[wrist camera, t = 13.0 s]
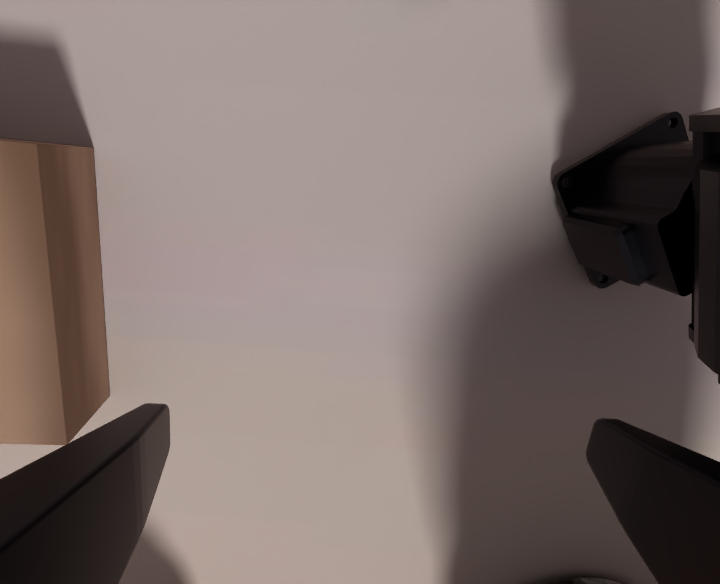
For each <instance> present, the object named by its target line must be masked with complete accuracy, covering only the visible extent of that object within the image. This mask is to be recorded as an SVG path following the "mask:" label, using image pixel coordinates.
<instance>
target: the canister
mask: <svg viewBox="0 0 720 584" xmlns="http://www.w3.org/2000/svg"><path fill="white" fill-rule="evenodd" d="M572 581H573V583H574V584H621V583H619V582H616V581H612V580H607V579H601V578H576V579H573V580H572Z"/></svg>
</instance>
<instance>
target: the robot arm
mask: <svg viewBox="0 0 720 584" xmlns="http://www.w3.org/2000/svg"><path fill="white" fill-rule="evenodd" d="M669 120H671V125H670V127H668V121H669ZM689 131H693V141H689V140H688V136H687V132H686V129H685V125H684V122H683V118H682V116H681V114H679V113H678V112H669V113H665V114H662V115H661V116H659V117H657V118H655V119H654V120H652V121H650V122H648V123H646V124H645V125H643V126H641V127H639V128H638V129H636V130H634V131H632V132H631V133H629V134H627V135H625V136H623V137H622V138H620V139H618V140H616V141H615V142H613V143H611V144H609V145H608V146H606V147H604V148H602V149H601V150H599V151H597V152H595V153H593V154H592V155H590V156H588V157H586V158H585V159H583V160H581V161H579V162H578V163H576V164H574V165H572V166H571V167H569V168H567V169H565V170H563V171H562V172H560V173H558V174H557V175H556V176H555V178H554V180H553V188H554V190H555V193H556V196H557V198H558V201H559V203H560V206H561V208H562V211H563V213H564V216H565V217H564V221H563V225H564V227H565V230H566V232H567V235H568V237H569V240H570V242H571V245H572V248H573V250H574V253H575V255H576V258H577V260H578V263H579V264H581V265H583V266H584V267H585V270H586V272H587V275H588V277H589V280H590V282H591V284H592V285H594V286H596V287H598V288H606V287H608V286H610V285H612V284H613V283H615V282H617V281H619V280H622V281H624V282H627V283H630V284H633V285H636V286H639V285H641V284H643V283H648V284H650V285H653V286H656V287H658V288H661V289H664V290H667V291H669V292H672V293H675V294H678V295H680V296H687V295H689V294H691V293H692V323H691V324H689V325H688V337H689V339H690V340H691V341H692V342H693V343H694V345H695V349H696V352H697V356H698V358H699V359H700V360H701V361H702V362H704V363H705V364H706V365H707V366H708V367H709V368H710V369H711V370H712V371H713V372H715V373H716V374H718V383H719V384H720V108H716V109H712V110H708V111H704V112H700V113H696V114H692V115H689ZM565 178H567V180H568V183H567V185H566V186H565V187H563V186H562V181H563V180H564V179H565ZM601 275H603V279H602V280H601V281H599V278H600V276H601ZM169 448H170V414H169V408H168V406H167V405H166V404H152V403H147V404H143V405H141V406H140V407H138V408H136V409H134V410H132V411H130V412H128V413H126V414H124V415H122V416H120V417H118V418H117V419H115V420H113V421H111V422H109V423H107V424H105V425H103V426H101V427H99V428H97V429H95V430H94V431H92V432H90V433H88V434H86V435H84V436H82V437H80V438H78V439H76V440H74V441H72V442H71V443H69V444H67V445H65V446H63V447H61V448H59V449H57V450H55V451H53V452H51V453H49V454H47V455H46V456H44V457H42V458H40V459H38V460H36V461H34V462H32V463H30V464H28V465H26V466H24V467H23V468H21V469H19V470H17V471H15V472H13V473H11V474H9V475H7V476H5V477H3V478H1V479H0V584H119V581H120V579H121V577H122V575H123V573H124V570H125V568H126V566H127V564H128V562H129V560H130V557H131V555H132V553H133V551H134V549H135V546H136V544H137V542H138V540H139V537H140V535H141V533H142V530H143V528H144V525H145V522H146V520H147V517H148V514H149V511H150V508H151V505H152V502H153V499H154V496H155V492H156V489H157V486H158V483H159V480H160V477H161V474H162V471H163V468H164V465H165V462H166V459H167V456H168V453H169ZM586 458H587V461H588V463H589V465H590V467H591V469H592V471H593V473H594V475H595V477H596V479H597V481H598V482H599V484H600V486H601V488H602V490H603V492H604V494H605V496H606V497H607V499H608V501H609V503H610V505H611V507H612V509H613V511H614V513H615V514H616V516H617V518H618V520H619V522H620V524H621V525H622V527H623V529H624V530H625V532H626V534H627V535H628V537H629V539H630V540H631V542H632V543H633V545H634V546H635V548H636V549H637V551H638V553H639V554H640V556H641V557H642V559H643V560H644V562H645V563H646V565H647V567H648V568H649V570H650V571H651V573H652V574H653V576H654V577H655V579H656V581H657V582H658V584H720V462H718V461H716V460H713V459H711V458H709V457H706V456H704V455H701V454H699V453H697V452H694V451H692V450H690V449H687V448H685V447H682V446H680V445H678V444H675V443H673V442H670V441H668V440H666V439H663V438H661V437H659V436H656V435H654V434H651V433H649V432H647V431H644V430H642V429H640V428H637V427H635V426H632V425H630V424H628V423H625V422H623V421H620V420H618V419H605V418H601V419H598V420H596V421H595V423H594V425H593V428H592V432H591V435H590V439H589V442H588V446H587V449H586Z"/></svg>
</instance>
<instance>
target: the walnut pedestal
mask: <svg viewBox="0 0 720 584" xmlns="http://www.w3.org/2000/svg"><path fill="white" fill-rule="evenodd" d="M109 396H110V390H109V375H108V360H107V345H106V330H105V315H104V300H103V284H102V269H101V254H100V239H99V224H98V209H97V194H96V179H95V164H94V149H93V148H92V147H82V146H72V145H63V144H53V143H44V142H34V141H24V140H15V139H5V138H0V444H40V445H67V444H68V443H69V442H70V441H71V440H72V439H73V438H74V436H75V435H76V434H77V433H78V432H79V431H80V429H81V428H82V427H83V426H84V425H85V424H86V423H87V421H88V420H89V419H90V418H91V417H92V416H93V415H94V413H95V412H96V411H97V410H98V409H99V408H100V407H101V405H102V404H103V403H104V402H105V401H106V400H107V399H108V397H109Z"/></svg>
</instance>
